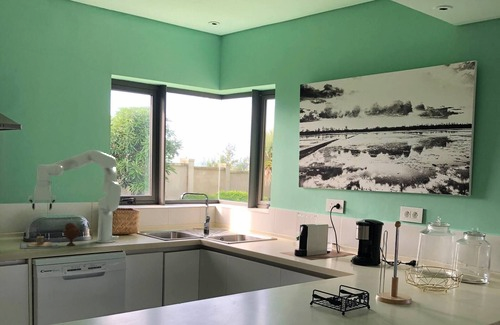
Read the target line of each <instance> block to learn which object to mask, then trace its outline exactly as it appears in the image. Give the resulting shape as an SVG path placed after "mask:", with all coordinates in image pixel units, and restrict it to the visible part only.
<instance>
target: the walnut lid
mask: <svg viewBox="0 0 500 325" xmlns="http://www.w3.org/2000/svg"><path fill="white" fill-rule="evenodd" d="M44 239H45V236H36V242H35V241H33V242H27V243H28V247H52V243H53V242H52V241H45V240H44ZM44 241H45V242H44Z"/></svg>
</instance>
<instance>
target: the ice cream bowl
mask: <svg viewBox="0 0 500 325" xmlns="http://www.w3.org/2000/svg"><path fill="white" fill-rule="evenodd" d="M64 228H65V230H63V231H62V233H63V236H64V237H65V238H66V239H68V240H69V243H67V244H66V246H67V247H75V246H76V244H75V243H74V242H73V241H74V240H75V239H76V238H78V237H79V236H80V233H81V230H79V227H78V226H77V225H75V224H74V223H73V222H69V223H66V224H65V226H64Z"/></svg>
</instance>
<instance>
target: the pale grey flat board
mask: <svg viewBox="0 0 500 325" xmlns="http://www.w3.org/2000/svg"><path fill="white" fill-rule="evenodd" d="M28 243H29V242H27V243H25V242H22V243H21V244H20V249H21V250H22V249H25V250H26V249H27V250H28V249H59V248H60V247H59V243H58V242H52V247H28Z"/></svg>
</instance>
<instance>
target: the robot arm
mask: <svg viewBox="0 0 500 325" xmlns="http://www.w3.org/2000/svg"><path fill="white" fill-rule="evenodd" d="M117 161H118V160H117V159H116V157H114V156H112V155H109V154H107V153H106V152H105V153H104V152H102V151H101V150H98V149H89V150H87V151H84V152H81V153H78V154H76V155H74V156H70V157H68V158H65V159H61V160H58V161H56V162H54V163H51V164H47V163H46V164H42V163H41V164H37V171H36V174H37V175H36V185H35V187H34V191H33V194H31V195H29V196H27V199H28V201H29V202H30V203H31V204H32V205H31V206H32V207H31V208H32V210H33V211H34V210H35V209H36V204H35V203H36V202H49V206H48V207H49V211H51V210H52V209H53V203H55V202H56V200H57V198H58V197H57V196H56V195H54V194H52V187H51V185H52V183H53V182H52V181H51V180H50V179H51V178H50V176H55V177H59V176H61V175H63V173H64V171H68V170H76V169H79V168H82V167H84V166H87V165H90V164H92V163H96V164H98V165H99V167H100V168H101V169H102V170H103V172H104V175H103V176H104V177H103V182H102V190H101V191H102V193H103V194H105V195H106V196H103V197H100V198H99V200H98V203H97V208H98V222H97V223H98V225H97V239H94V241H95V242H96V243H103V244H105V243H108V244H109V243H114V241H115V240H119V235H113V219H114V218H113V216H114V215H113V213H114V212H115V211H116V210H117V209H118V208H119V205H120V201H121V196H122V195H121V194H122V186H121V184H119V182H117V177H118V174H117V172H118V171H117V168H116V166H117ZM32 198H33V200H32ZM51 198H53V199H51Z"/></svg>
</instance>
